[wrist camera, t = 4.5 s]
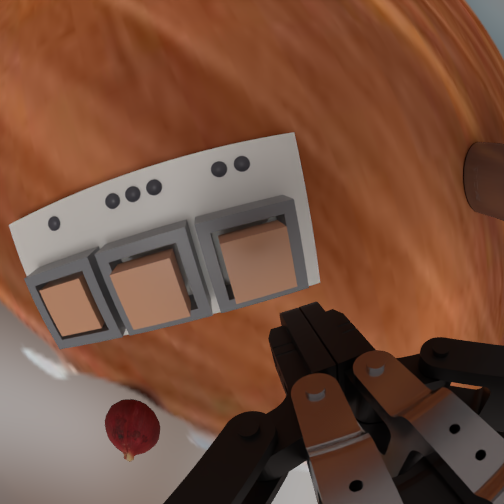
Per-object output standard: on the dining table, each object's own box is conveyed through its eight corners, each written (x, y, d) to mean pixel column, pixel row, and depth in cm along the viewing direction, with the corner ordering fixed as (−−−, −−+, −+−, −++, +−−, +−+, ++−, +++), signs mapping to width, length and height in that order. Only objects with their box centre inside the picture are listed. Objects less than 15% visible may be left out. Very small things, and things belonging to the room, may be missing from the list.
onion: (103, 385, 24) (87, 441, 17) (151, 382, 25) (144, 443, 18) (123, 418, 26) (114, 471, 19) (167, 416, 27) (166, 472, 20)
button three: (172, 248, 18) (169, 258, 16) (190, 301, 19) (190, 316, 17) (117, 263, 17) (109, 275, 15) (138, 314, 18) (133, 330, 17)
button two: (277, 219, 18) (286, 226, 16) (288, 274, 20) (297, 286, 18) (217, 235, 18) (219, 244, 16) (232, 290, 19) (236, 304, 17)
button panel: (285, 134, 20) (306, 128, 16) (311, 273, 24) (333, 295, 20) (20, 219, 18) (-8, 232, 14) (69, 335, 22) (53, 363, 18)
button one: (88, 268, 18) (78, 278, 16) (108, 314, 19) (101, 328, 18) (50, 280, 18) (39, 290, 16) (70, 323, 19) (62, 336, 17)
